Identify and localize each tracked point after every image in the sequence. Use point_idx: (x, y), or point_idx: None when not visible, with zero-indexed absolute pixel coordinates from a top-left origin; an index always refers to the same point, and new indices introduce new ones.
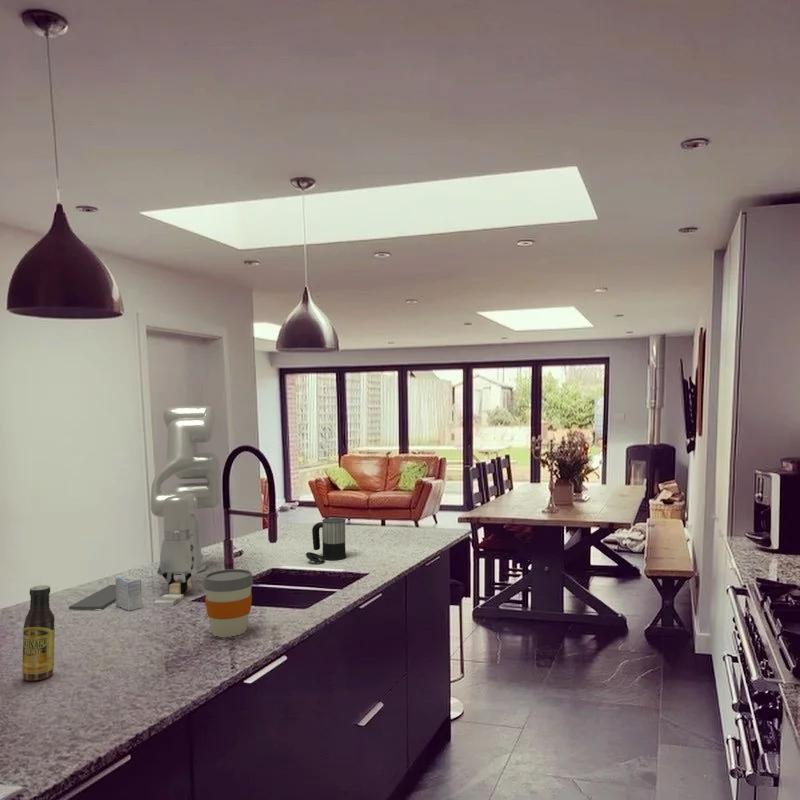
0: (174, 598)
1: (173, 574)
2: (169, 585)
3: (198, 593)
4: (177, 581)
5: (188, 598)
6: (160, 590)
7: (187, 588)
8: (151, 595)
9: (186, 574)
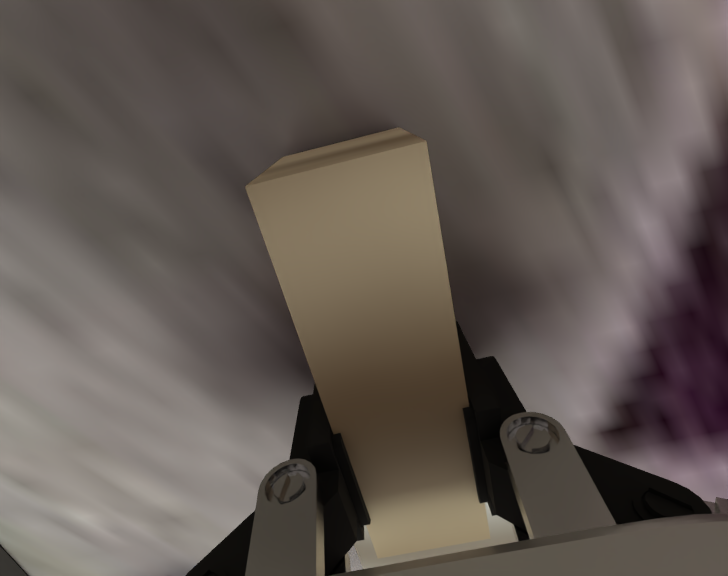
0: (490, 533)
1: (322, 560)
2: (380, 555)
3: (564, 252)
4: (375, 436)
5: (540, 405)
6: (59, 256)
7: (498, 364)
8: (138, 413)
9: (570, 516)
